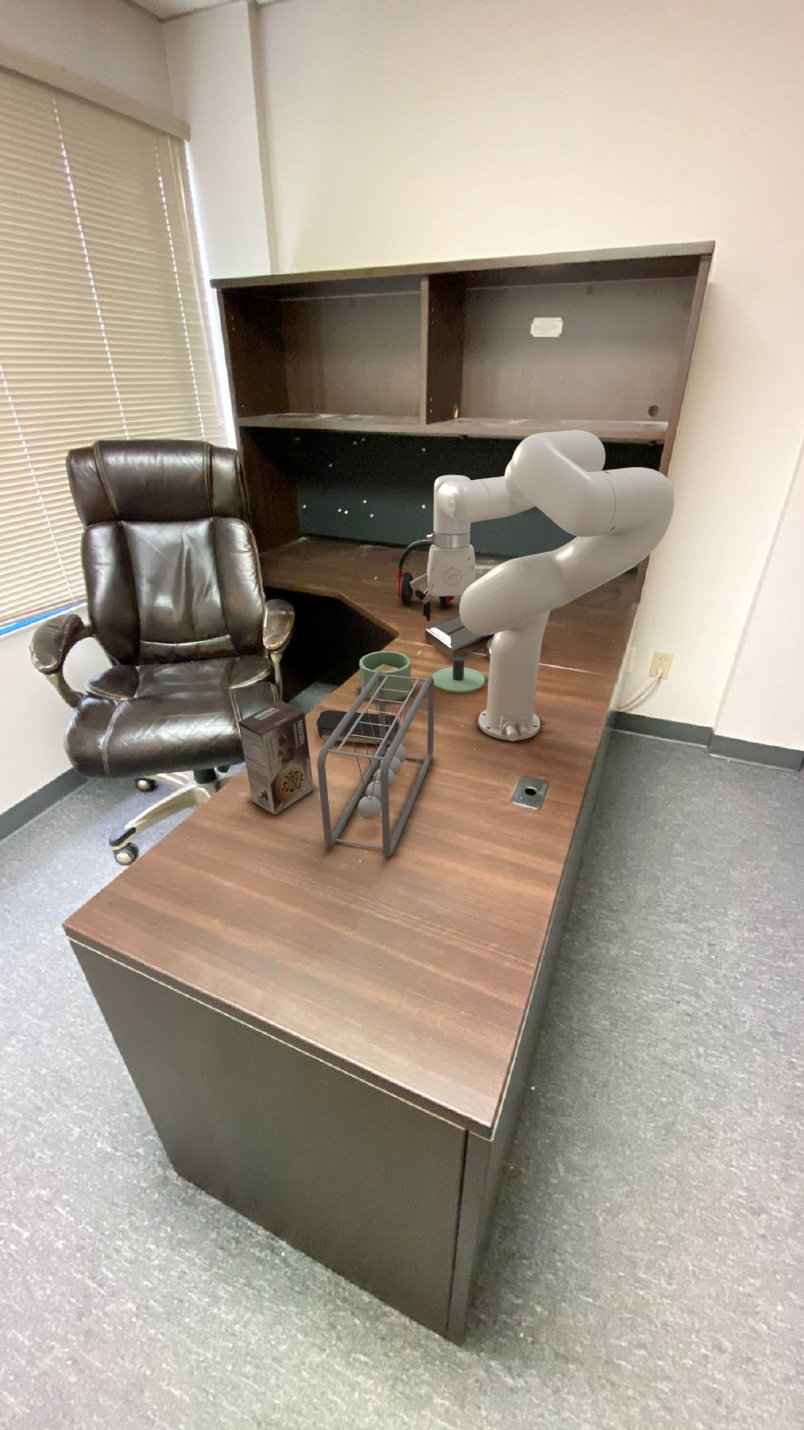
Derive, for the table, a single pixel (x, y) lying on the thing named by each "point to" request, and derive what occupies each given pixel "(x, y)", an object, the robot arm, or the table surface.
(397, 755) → the newton's cradle
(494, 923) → the table surface
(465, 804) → the table surface
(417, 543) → the headphones
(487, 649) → the emblem
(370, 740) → the black sponge
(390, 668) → the block
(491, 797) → the table surface
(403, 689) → the pot
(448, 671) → the cover
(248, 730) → the coffee box
